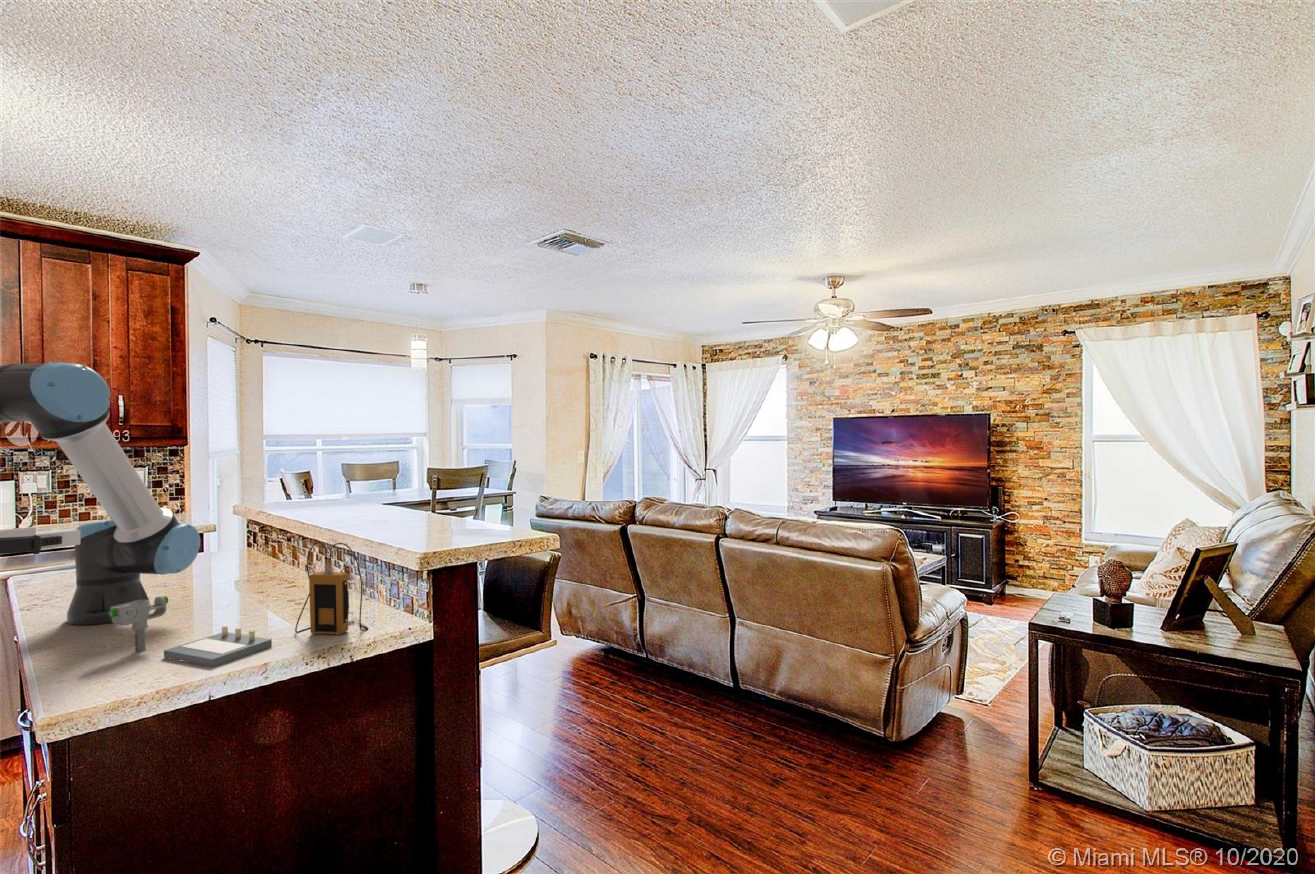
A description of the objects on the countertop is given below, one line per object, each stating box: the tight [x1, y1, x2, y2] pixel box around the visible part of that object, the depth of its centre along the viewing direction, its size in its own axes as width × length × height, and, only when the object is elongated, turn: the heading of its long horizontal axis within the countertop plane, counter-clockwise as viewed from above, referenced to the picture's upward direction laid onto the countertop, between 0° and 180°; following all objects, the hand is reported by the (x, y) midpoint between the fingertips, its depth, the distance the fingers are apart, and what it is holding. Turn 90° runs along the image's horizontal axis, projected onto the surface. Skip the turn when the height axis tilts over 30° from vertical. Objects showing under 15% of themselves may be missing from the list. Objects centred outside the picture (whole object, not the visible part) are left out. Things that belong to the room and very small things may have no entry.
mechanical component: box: [108, 595, 169, 652], centre depth 130 cm, size 3×10×10 cm, turn 161°
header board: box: [163, 625, 273, 668], centre depth 129 cm, size 14×12×4 cm
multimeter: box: [294, 541, 369, 636], centre depth 144 cm, size 15×10×20 cm
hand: (56, 535), depth 124 cm, fingers open, 13 cm apart
